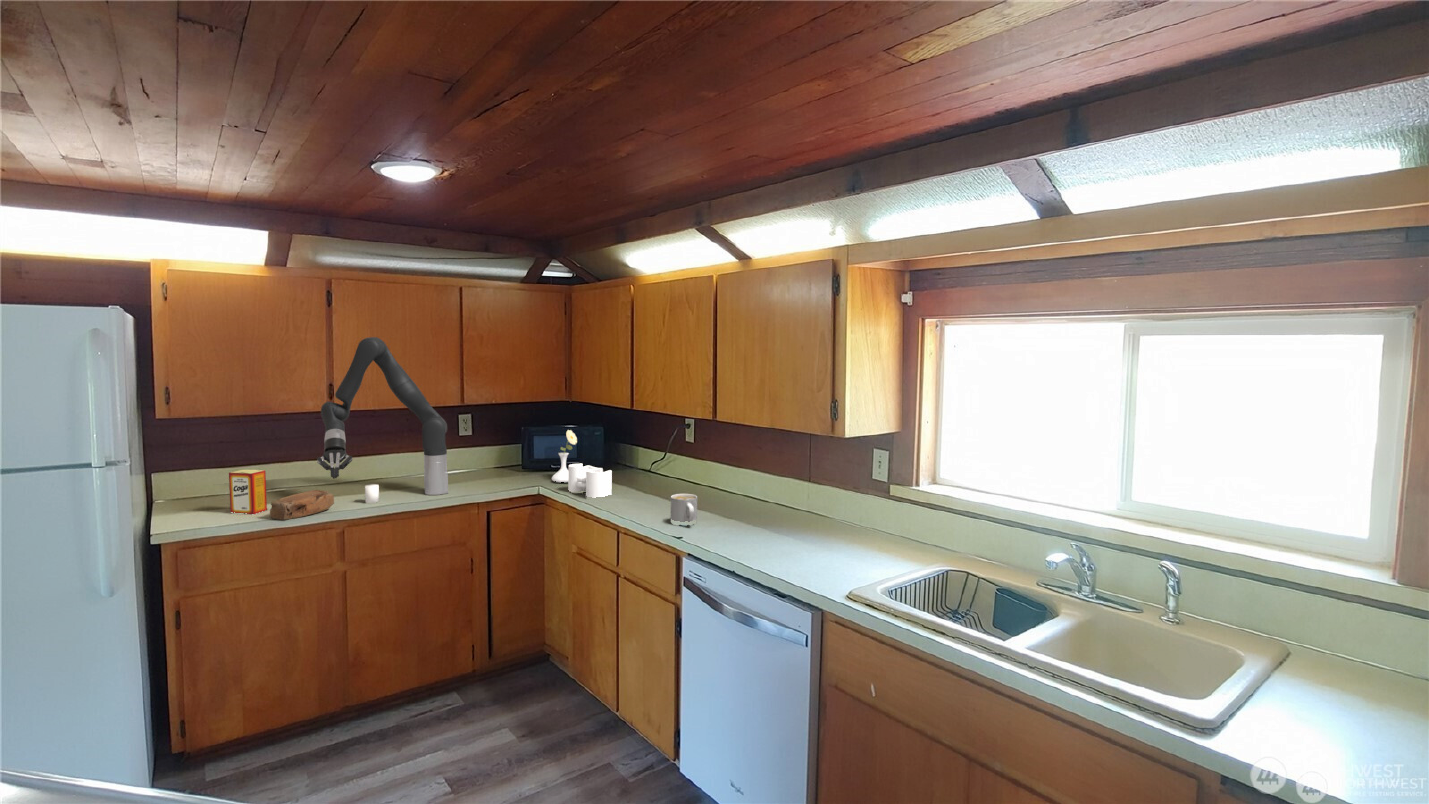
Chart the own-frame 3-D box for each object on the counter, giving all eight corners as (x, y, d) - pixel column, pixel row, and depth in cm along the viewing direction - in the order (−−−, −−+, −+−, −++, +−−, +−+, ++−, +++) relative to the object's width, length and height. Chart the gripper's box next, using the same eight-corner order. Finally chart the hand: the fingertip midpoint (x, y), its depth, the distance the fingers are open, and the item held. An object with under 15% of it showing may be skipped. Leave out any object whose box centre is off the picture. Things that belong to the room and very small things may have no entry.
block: (314, 506, 265) (267, 519, 246) (314, 487, 264) (266, 499, 245) (336, 509, 261) (290, 523, 242) (335, 490, 260) (289, 503, 241)
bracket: (563, 491, 300) (563, 465, 299) (581, 488, 307) (581, 462, 306) (594, 501, 283) (594, 473, 282) (613, 498, 289) (613, 470, 288)
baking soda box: (230, 513, 252) (228, 471, 251) (244, 509, 259) (242, 468, 258) (253, 514, 251) (251, 472, 250) (266, 510, 258) (265, 469, 256)
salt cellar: (378, 500, 277) (378, 483, 277) (379, 503, 273) (378, 486, 272) (365, 501, 275) (364, 484, 274) (365, 504, 270) (365, 487, 270)
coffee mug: (668, 519, 255) (669, 494, 254) (694, 518, 257) (694, 493, 256) (674, 529, 242) (674, 502, 241) (701, 528, 244) (701, 501, 243)
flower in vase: (561, 485, 313) (561, 432, 311) (546, 481, 321) (546, 430, 319) (583, 481, 324) (583, 430, 322) (568, 478, 331) (568, 428, 329)
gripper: (315, 437, 269) (314, 473, 259) (353, 436, 275) (353, 470, 265) (316, 448, 274) (316, 483, 264) (353, 447, 280) (353, 481, 270)
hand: (334, 477), depth 264 cm, fingers closed
